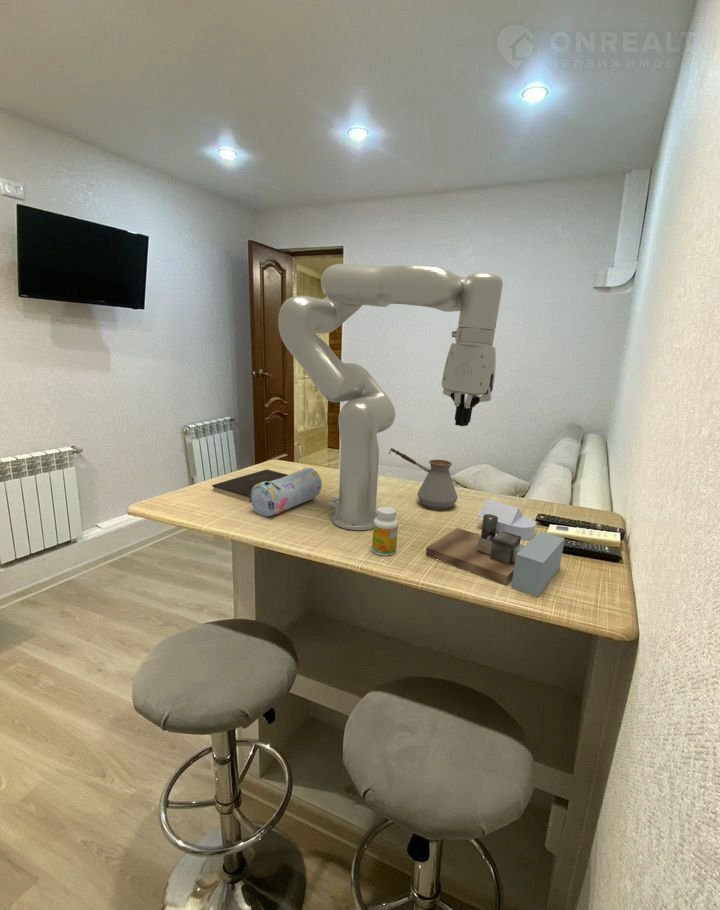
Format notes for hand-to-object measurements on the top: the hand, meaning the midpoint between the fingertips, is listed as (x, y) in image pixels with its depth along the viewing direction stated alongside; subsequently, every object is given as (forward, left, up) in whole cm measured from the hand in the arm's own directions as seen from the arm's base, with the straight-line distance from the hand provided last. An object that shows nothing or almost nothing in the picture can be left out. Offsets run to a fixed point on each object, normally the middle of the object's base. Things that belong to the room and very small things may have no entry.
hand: (461, 425), depth 97 cm
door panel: (+8, -1, -28) cm, 29 cm away
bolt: (+14, -1, -26) cm, 30 cm away
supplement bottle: (-9, -13, -28) cm, 33 cm away
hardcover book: (-62, -4, -29) cm, 69 cm away
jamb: (+20, -1, -28) cm, 35 cm away
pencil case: (-44, -10, -29) cm, 54 cm away
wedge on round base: (+7, +19, -29) cm, 35 cm away
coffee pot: (-20, +21, -28) cm, 40 cm away
